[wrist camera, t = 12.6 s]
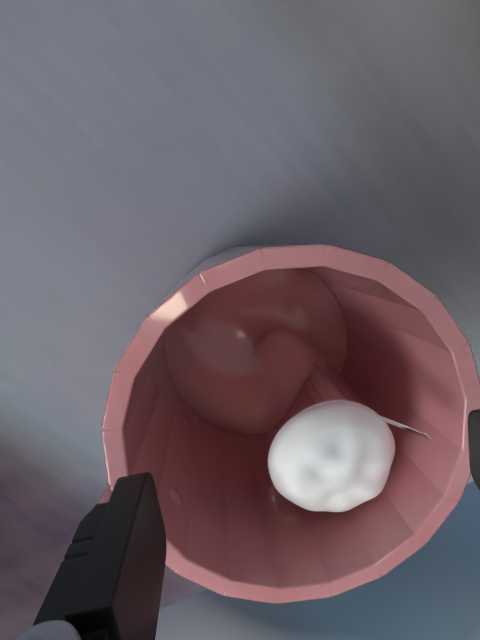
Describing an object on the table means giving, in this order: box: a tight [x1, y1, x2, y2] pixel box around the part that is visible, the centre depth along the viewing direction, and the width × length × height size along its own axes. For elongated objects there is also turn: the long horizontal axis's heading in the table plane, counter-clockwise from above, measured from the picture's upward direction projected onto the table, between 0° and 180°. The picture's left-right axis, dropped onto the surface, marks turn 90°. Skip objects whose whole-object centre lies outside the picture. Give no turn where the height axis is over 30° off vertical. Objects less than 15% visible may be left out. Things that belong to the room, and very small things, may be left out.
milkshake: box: [254, 329, 434, 512], centre depth 16 cm, size 5×5×10 cm
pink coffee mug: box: [99, 244, 480, 604], centre depth 17 cm, size 15×11×11 cm
